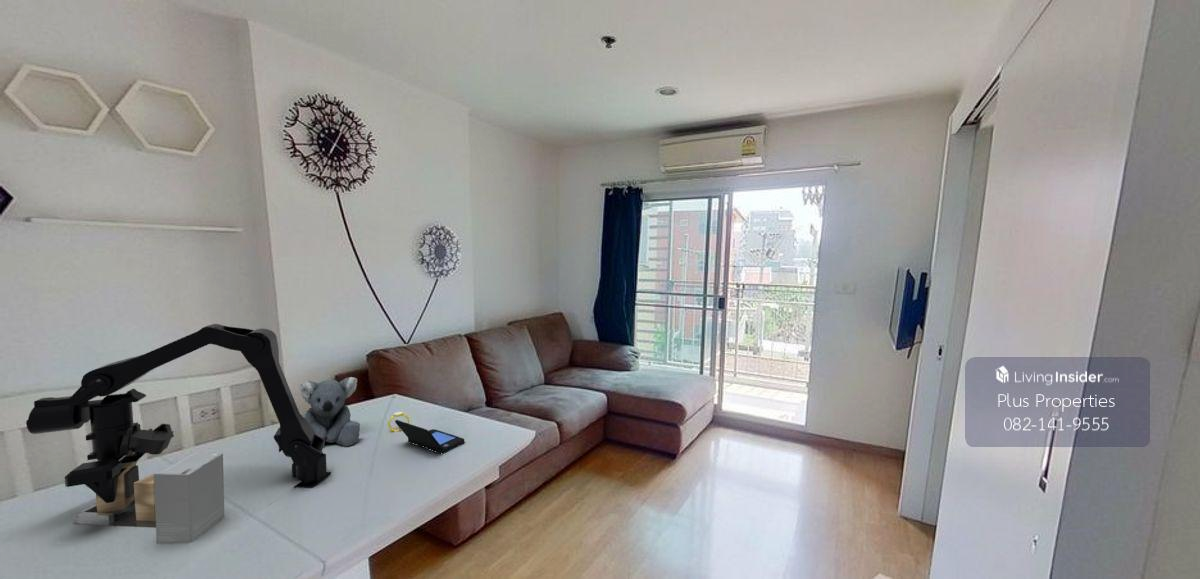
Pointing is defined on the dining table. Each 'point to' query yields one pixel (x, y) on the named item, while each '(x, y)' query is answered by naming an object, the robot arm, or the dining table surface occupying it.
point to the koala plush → (331, 410)
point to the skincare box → (189, 497)
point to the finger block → (121, 490)
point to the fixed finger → (145, 499)
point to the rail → (112, 517)
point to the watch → (397, 416)
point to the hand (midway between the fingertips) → (117, 495)
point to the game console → (429, 437)
